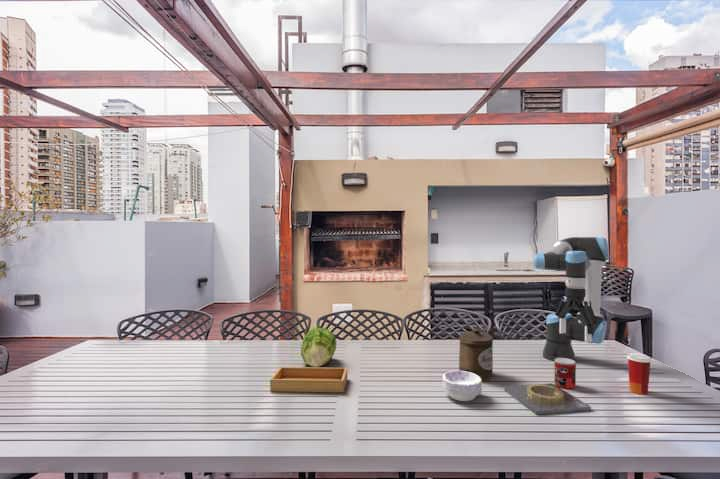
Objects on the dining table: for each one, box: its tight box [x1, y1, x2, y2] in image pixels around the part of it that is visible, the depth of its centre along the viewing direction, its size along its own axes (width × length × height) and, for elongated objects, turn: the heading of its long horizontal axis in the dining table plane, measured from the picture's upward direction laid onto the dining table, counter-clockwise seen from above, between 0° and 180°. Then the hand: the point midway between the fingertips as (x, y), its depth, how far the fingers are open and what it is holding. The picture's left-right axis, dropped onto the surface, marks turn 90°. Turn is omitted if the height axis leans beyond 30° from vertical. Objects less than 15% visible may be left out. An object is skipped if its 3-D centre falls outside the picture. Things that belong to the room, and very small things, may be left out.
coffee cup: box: [626, 352, 652, 396], centre depth 158 cm, size 8×8×15 cm
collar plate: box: [503, 382, 592, 416], centre depth 150 cm, size 22×22×4 cm
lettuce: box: [300, 327, 337, 367], centre depth 191 cm, size 18×23×19 cm
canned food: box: [554, 358, 577, 390], centre depth 163 cm, size 8×8×11 cm
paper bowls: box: [442, 370, 483, 402], centre depth 153 cm, size 15×15×8 cm
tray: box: [269, 366, 348, 393], centre depth 165 cm, size 31×15×6 cm, turn 86°
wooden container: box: [458, 326, 494, 382], centre depth 176 cm, size 15×15×22 cm
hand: (574, 337), depth 162 cm, fingers open, 13 cm apart
